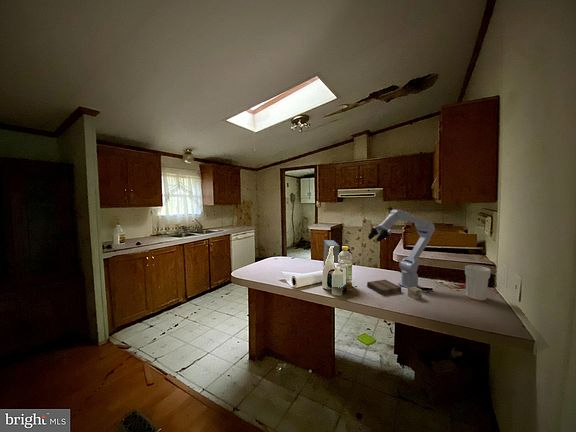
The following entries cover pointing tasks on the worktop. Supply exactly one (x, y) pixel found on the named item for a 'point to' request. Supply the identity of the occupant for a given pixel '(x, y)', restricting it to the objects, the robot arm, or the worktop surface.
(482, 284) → the cup
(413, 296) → the birch cube
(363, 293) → the worktop surface
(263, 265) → the worktop surface
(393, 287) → the walnut base
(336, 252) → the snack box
